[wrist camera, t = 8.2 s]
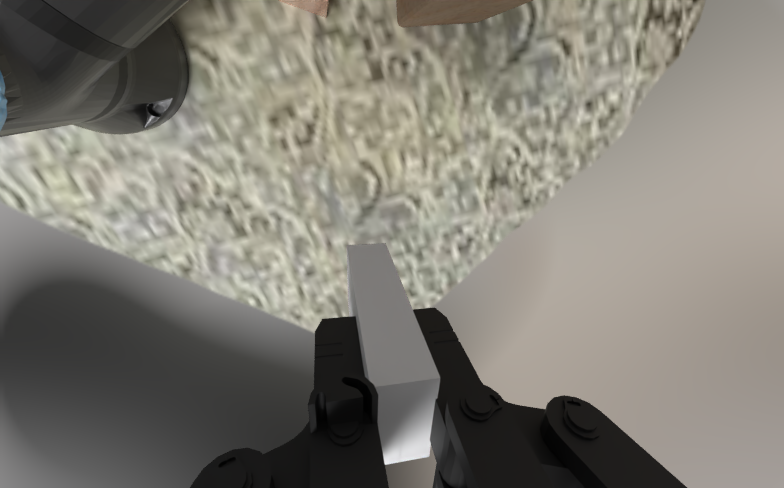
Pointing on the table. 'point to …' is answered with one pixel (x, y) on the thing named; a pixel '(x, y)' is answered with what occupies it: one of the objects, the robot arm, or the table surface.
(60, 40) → the robot arm
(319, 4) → the terracotta block
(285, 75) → the table surface
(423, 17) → the wooden block
